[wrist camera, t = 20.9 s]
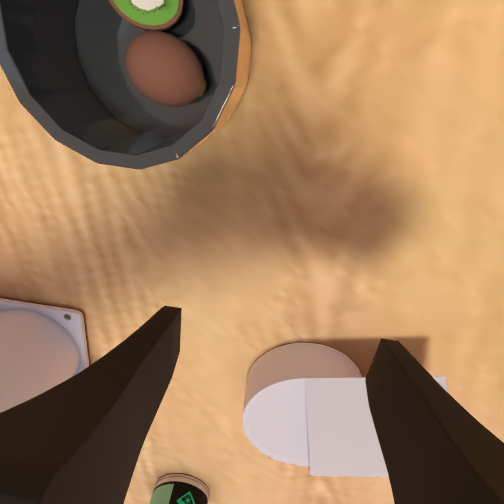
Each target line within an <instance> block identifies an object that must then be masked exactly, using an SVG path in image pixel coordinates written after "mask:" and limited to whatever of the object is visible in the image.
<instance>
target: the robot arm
mask: <svg viewBox="0 0 504 504" xmlns="http://www.w3.org/2000/svg"><path fill="white" fill-rule="evenodd" d="M67 314H68V315H70V316H68V315H67ZM180 331H181V308H176V307H170V306H164V307H162V308H161V309H160V310H159V311H158V312H157V313H156V314H154V315H153V316H152V317H151V318H150V319H149V320H148V321H147V322H146V323H144V324H143V325H142V326H141V327H140V328H139V329H138V330H136V331H135V332H134V333H133V334H132V335H130V336H129V337H128V338H127V339H126V340H124V341H123V342H122V343H120V344H119V345H118V346H116V347H115V348H114V349H112V350H111V351H110V352H108V353H107V354H106V355H104V356H103V357H102V358H100V359H99V360H97V361H96V362H95V363H93V364H92V365H90V366H89V358H88V350H87V342H86V333H85V325H84V316H83V314H82V313H81V312H80V311H79V310H75V309H68V308H62V307H55V306H48V305H42V304H35V303H29V302H22V301H16V300H9V299H2V298H0V504H123V503H124V500H125V497H126V494H127V490H128V487H129V484H130V481H131V478H132V475H133V472H134V469H135V466H136V463H137V460H138V457H139V454H140V451H141V448H142V446H143V443H144V441H145V438H146V435H147V433H148V431H149V429H150V426H151V424H152V422H153V420H154V417H155V415H156V413H157V410H158V408H159V406H160V404H161V401H162V399H163V397H164V394H165V392H166V390H167V387H168V385H169V383H170V380H171V378H172V375H173V372H174V369H175V366H176V362H177V359H178V355H179V352H180ZM365 382H366V390H367V397H368V403H369V408H370V412H371V416H372V419H373V423H374V427H375V430H376V434H377V437H378V440H379V444H380V447H381V451H382V454H383V458H384V461H385V465H386V468H387V472H388V475H389V479H390V483H391V487H392V492H393V497H394V503H395V504H504V443H503V442H502V441H501V440H499V439H498V438H497V437H496V436H495V435H493V434H492V433H491V432H490V431H489V430H487V429H486V428H485V427H484V426H483V425H482V424H480V423H479V422H478V421H477V420H476V419H475V418H474V417H473V416H472V415H470V414H469V413H468V412H467V411H466V410H465V409H464V408H463V407H462V406H461V405H460V404H459V403H458V402H457V401H456V400H455V399H454V398H453V397H452V396H451V395H450V394H449V393H448V392H447V391H446V390H445V389H444V388H443V387H442V386H441V385H440V384H439V383H438V382H437V381H436V380H435V379H434V378H433V377H432V376H431V375H430V374H429V373H428V372H427V371H426V370H425V369H424V368H423V366H422V365H421V364H420V363H419V362H418V361H417V360H416V359H415V358H414V357H413V356H412V355H411V354H410V353H409V352H408V351H407V349H406V348H405V347H404V346H403V345H402V344H401V343H400V342H399V341H394V340H387V339H381V340H380V343H379V345H378V348H377V351H376V353H375V356H374V358H373V361H372V364H371V366H370V369H369V371H368V374H367V377H366V379H365Z"/></svg>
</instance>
